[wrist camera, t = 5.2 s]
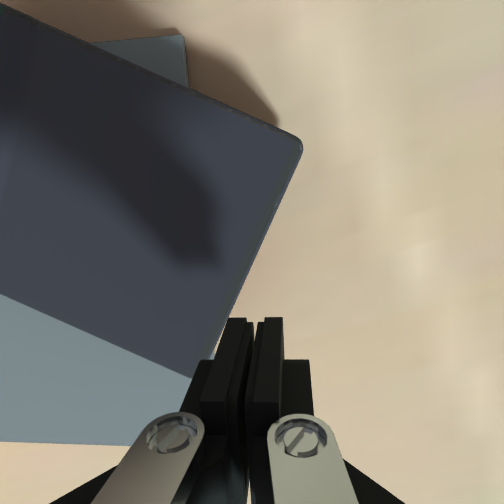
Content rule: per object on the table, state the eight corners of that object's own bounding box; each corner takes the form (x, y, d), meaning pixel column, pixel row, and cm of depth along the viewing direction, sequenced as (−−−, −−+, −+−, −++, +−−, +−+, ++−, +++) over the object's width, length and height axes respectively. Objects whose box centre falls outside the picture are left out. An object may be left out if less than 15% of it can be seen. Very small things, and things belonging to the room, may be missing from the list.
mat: (184, 37, 17) (181, 34, 16) (222, 442, 23) (221, 449, 23) (-133, 66, 19) (-144, 64, 18) (-18, 434, 25) (-25, 440, 24)
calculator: (305, 143, 17) (-1, 7, 17) (309, 140, 13) (-96, -41, 13) (215, 343, 20) (-47, 227, 20) (194, 392, 16) (-136, 245, 16)
